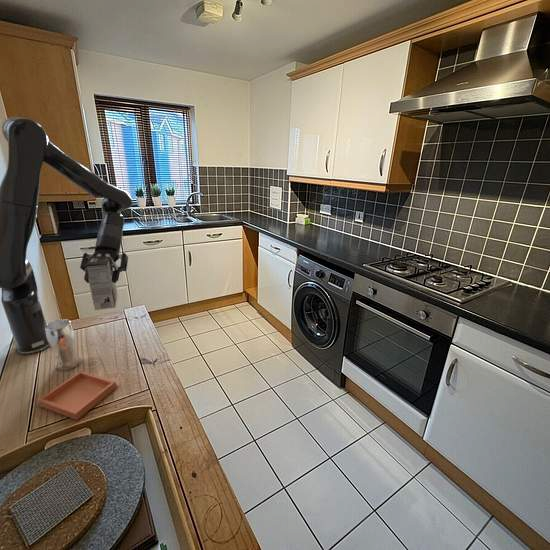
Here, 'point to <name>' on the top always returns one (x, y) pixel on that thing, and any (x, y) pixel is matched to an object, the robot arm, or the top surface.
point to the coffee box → (101, 282)
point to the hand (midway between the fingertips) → (100, 282)
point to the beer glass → (62, 343)
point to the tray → (77, 395)
